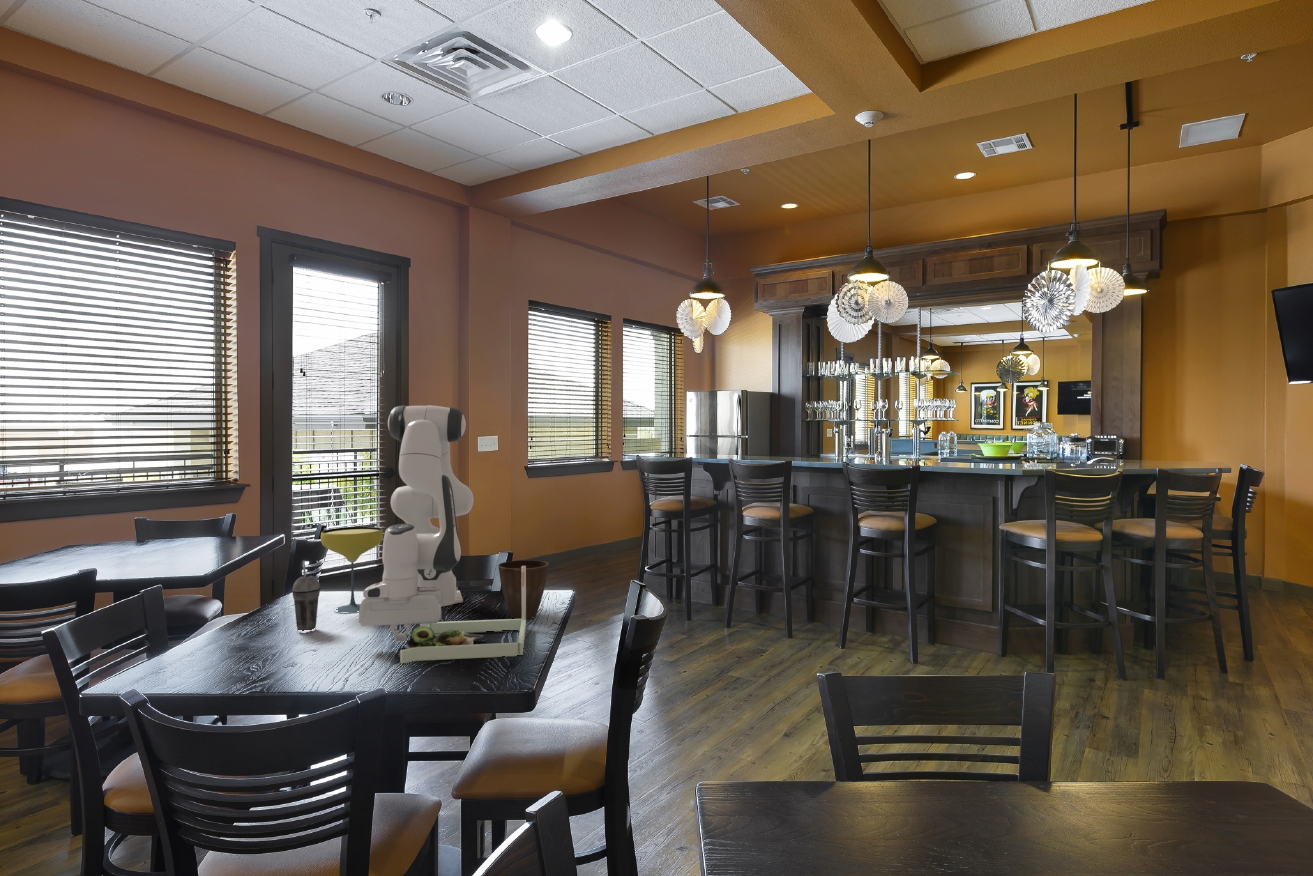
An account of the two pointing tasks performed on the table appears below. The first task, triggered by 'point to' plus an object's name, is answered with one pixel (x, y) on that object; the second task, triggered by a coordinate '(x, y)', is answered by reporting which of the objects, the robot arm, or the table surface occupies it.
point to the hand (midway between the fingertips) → (400, 640)
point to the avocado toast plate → (439, 638)
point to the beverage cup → (306, 601)
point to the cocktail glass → (351, 549)
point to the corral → (469, 627)
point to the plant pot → (513, 585)
